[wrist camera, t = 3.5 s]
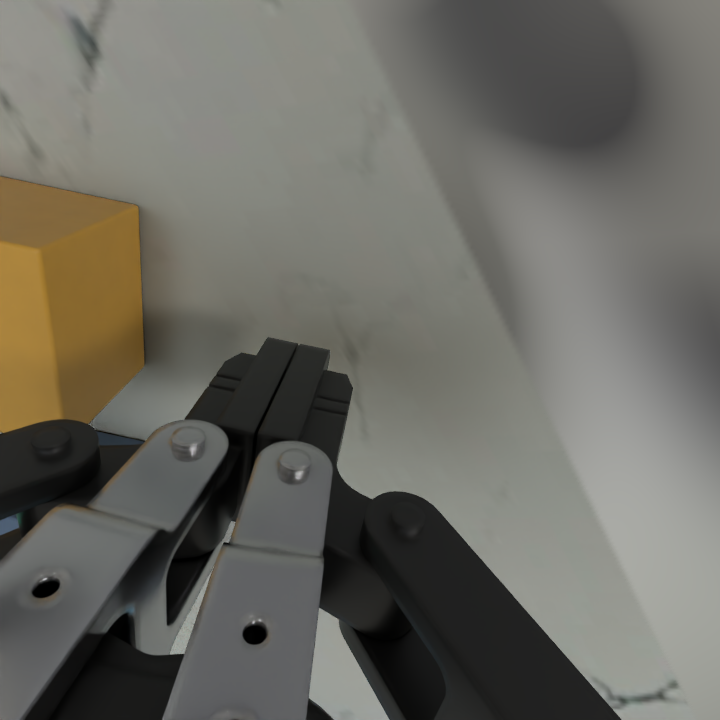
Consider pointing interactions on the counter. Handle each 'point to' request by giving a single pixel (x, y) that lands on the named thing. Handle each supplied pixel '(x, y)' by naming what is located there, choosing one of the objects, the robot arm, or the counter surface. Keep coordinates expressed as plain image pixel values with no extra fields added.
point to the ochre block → (66, 303)
